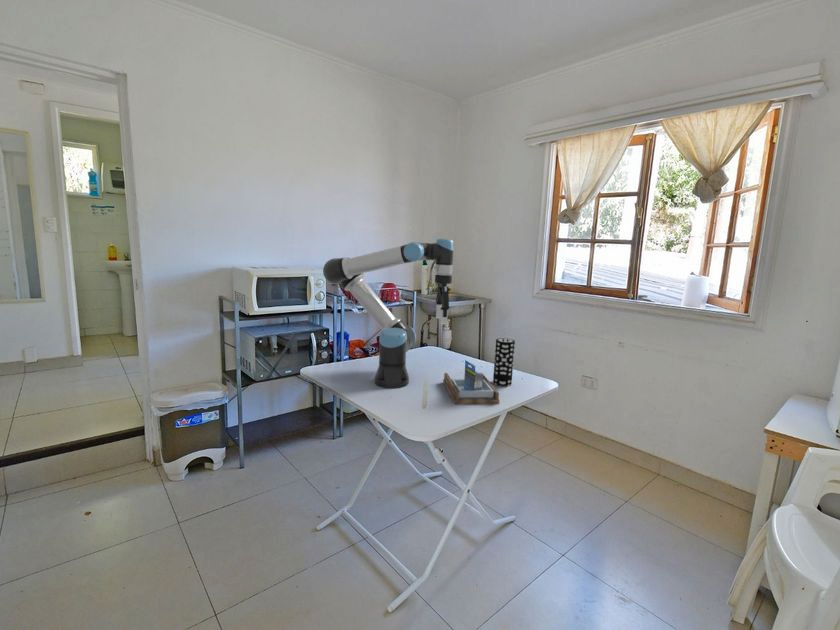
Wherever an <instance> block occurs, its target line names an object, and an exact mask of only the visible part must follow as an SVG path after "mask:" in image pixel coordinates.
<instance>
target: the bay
mask: <svg viewBox="0 0 840 630" xmlns="http://www.w3.org/2000/svg"><path fill="white" fill-rule="evenodd" d="M479 373H480V374H482V375H483V378H482V379H484V380H485V381H486V382H487V383H488V385H489V386H490V387H491V388H492V389H493V391H494V396H493V398H465V399H459V392H458V390H457V389H456V387H455V385H454V384H453V382H452V380H461V379H462V378H453V379H452V378H451V377H450V375H449V374H448V372H444V374H443V375H444V376H443V379H442V380H443V381H442V382H443V383H442V384H443V385H444V386H445V389H446V391H447V392H448V395H449V394H450V395H449V396H450V398H451V400H452V402H453V404H454V405H475V404H476V405H481V404H482V405H484V404H485V405H486V404H488V405H491V404H494V405H495V404H500V397H499V396H500V392H499V391H498V390H497V389H496V388H495V386H494V385H493V384H492V382H490V380H489V379H488V378H487V377H486V375H484V373H483V372H479Z"/></svg>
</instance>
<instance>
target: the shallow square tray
mask: <svg viewBox="0 0 840 630" xmlns="http://www.w3.org/2000/svg"><path fill="white" fill-rule="evenodd" d="M460 379H461V380H452V382H453V384H454V385H455V387H456V389H457V390H458V392H459V399H465V398H493V396H494V391H493V389H492V388H491V387H490V386H489V385H488V383H487V382H486V381H485V380H484V379H482V390H481V391H467V390H466V389H464V378H460Z"/></svg>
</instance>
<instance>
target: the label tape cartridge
mask: <svg viewBox="0 0 840 630" xmlns="http://www.w3.org/2000/svg"><path fill="white" fill-rule="evenodd" d="M480 373H481V372H478V371H477V370H476V365H474V364H473V363H472V362H470V361H467V360H466V359H465V361H464V378H463V379H464V389H466V390H467V391H481V390H482V378H483V375H484V374H483V373H482V374H483V375H482V374H480Z"/></svg>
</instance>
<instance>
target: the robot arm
mask: <svg viewBox="0 0 840 630" xmlns="http://www.w3.org/2000/svg"><path fill="white" fill-rule="evenodd" d="M417 261H435V266H434V267H433V268H434V269H435V273H434V274H435V275H434V282H435V284H437V290H436V291H437V292H436V298H435V303H436V307H435V308H436V311H435V312H436V313H435V319H439V320H440V325H448V316H449V315H448V313H449V309H450V297H449V289H450V288H449V286H447V285H450V284H452V282H453V276H452V274H453V262H454V240H452V239H447V238H446V239H445V238H437V239H436V242H434V243H430V242H419V241H418V242H416V241H413V242H409V243H407V244H403V245H400V246H399V245H398V246H396V247H395V246H394V247H391V248H386V249H382V250H378V251H374V252H370V253H367V254H362V255H358V256H354V257H347V256H344V257H339V258H337V257H336V258H334V257H333V258H330V259H329V260H328V261H326V262H325V264H324V265H323V268H322V274H323V277H324V279H325V280H326V281H327V282H328V283H330V284H333V285H340V287H341V288H342V289H343V290H344V291H346V292H350V294H352V296H353V297H354V298H355V300H356V301H357V302H358V303H359V304H360V306H362V308H363V309H364V310H365V311H366V313H367V314H368V315H369V316H370V317H371V319H372V320H373V321H374V322H375V324H377V325H378V327H379V328H380V330H381V331H380V334H379V338H378V339H379V340H378V342H379V345H378V346H379V348H378V349H379V353H378V355H379V356H378V357H379V359H378V367H377V370H376V373H375V376H374V384H375V385H377V386H378V385H379V387H381V386H382V388H387V389H390V388H391V389H396V388H403V387H405V386H407V385H409V383H410V377H409V372H408V369H407V366H406V364H407V363H406V360H407V352H409V350H411V349H412V348H413V347H414V346H415V343H416V340H417V335H416V332H415V329H414V328H412V327H411V326H410V325H407V324H405V322H404V321H403V320H402V319H401V318H397V317H396V316H395V315H394V314H393V313H392V312H391V311H390V310H389V308H388V307H387V306H386V304H385V303H384V302H383V301H382V299H380V298H379V296H378V295H377V294H376V292H374V290H373V289H372V287H370V285H369V284H368V283H367V281H366V280H365V275H364V274H365V273H366V274H367V273H371V272H375V271H378V270H383V269H387V268H391V267H395V266H399V265H404V264H408V263H409V264H410V263H412V262H417Z"/></svg>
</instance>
